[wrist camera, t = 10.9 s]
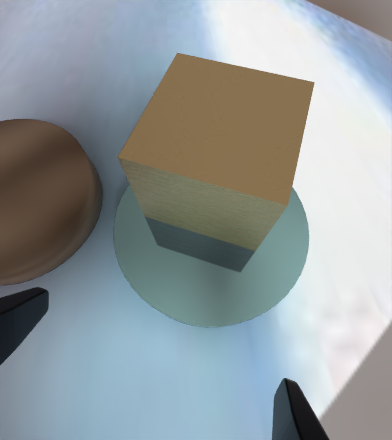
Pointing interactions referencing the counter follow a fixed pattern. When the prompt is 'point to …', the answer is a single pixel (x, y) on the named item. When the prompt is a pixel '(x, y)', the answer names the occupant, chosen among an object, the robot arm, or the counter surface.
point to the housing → (216, 157)
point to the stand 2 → (210, 269)
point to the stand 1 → (43, 198)
